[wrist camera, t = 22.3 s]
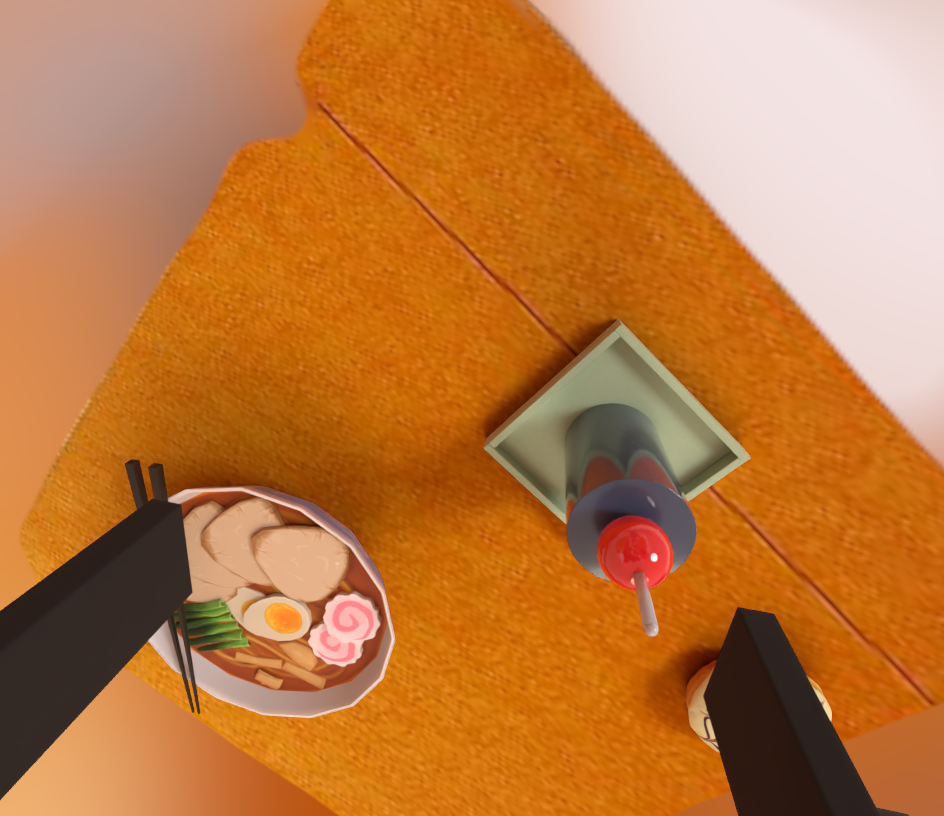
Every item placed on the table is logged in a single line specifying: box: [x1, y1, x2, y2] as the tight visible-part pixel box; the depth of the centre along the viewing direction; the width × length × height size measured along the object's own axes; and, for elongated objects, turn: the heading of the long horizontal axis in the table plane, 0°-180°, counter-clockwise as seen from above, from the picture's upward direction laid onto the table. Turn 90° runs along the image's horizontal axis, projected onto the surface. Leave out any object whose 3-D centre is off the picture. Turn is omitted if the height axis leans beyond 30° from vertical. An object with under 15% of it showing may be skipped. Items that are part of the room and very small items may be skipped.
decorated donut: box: [686, 660, 832, 753], centre depth 44 cm, size 10×11×4 cm
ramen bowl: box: [125, 460, 395, 718], centre depth 44 cm, size 25×23×8 cm
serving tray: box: [483, 319, 751, 524], centre depth 38 cm, size 13×13×2 cm
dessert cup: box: [564, 403, 696, 637], centre depth 30 cm, size 7×7×18 cm
